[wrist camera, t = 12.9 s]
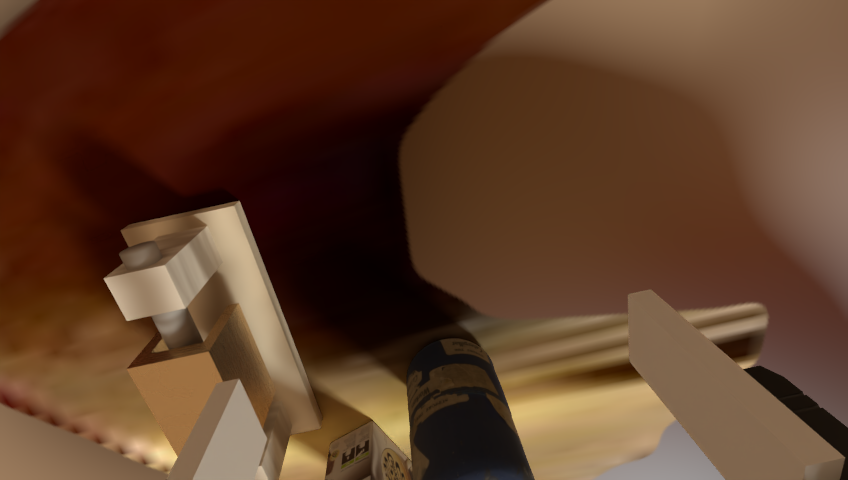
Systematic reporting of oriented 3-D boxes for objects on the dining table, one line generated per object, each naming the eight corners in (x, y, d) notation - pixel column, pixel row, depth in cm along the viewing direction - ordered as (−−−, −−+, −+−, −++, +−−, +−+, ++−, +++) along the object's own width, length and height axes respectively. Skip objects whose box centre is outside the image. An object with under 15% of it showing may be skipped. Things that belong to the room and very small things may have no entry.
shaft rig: (239, 200, 39) (197, 241, 30) (322, 418, 49) (309, 495, 40) (129, 224, 39) (55, 271, 30) (235, 436, 49) (202, 518, 40)
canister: (412, 327, 46) (428, 480, 29) (500, 335, 47) (563, 486, 30) (400, 400, 49) (407, 574, 32) (482, 405, 50) (529, 575, 34)
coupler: (238, 302, 39) (208, 351, 32) (275, 389, 43) (255, 449, 36) (170, 317, 39) (126, 369, 32) (213, 403, 43) (182, 464, 36)
